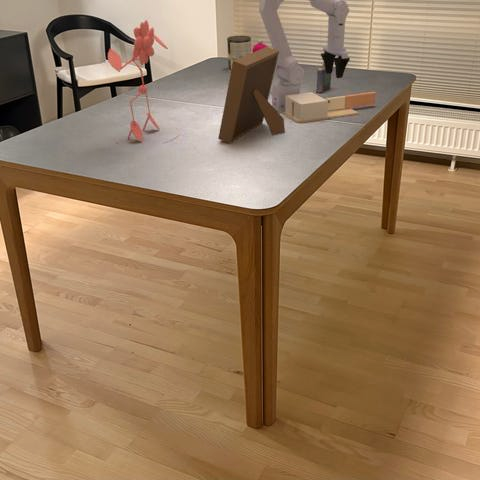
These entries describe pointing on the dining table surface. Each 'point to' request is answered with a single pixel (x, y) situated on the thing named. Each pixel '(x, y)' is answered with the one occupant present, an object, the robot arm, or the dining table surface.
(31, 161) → the dining table surface
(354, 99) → the long copper stick
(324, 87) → the flask
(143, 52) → the pink stick figure
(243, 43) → the coffee can
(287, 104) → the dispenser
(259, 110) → the photo frame
